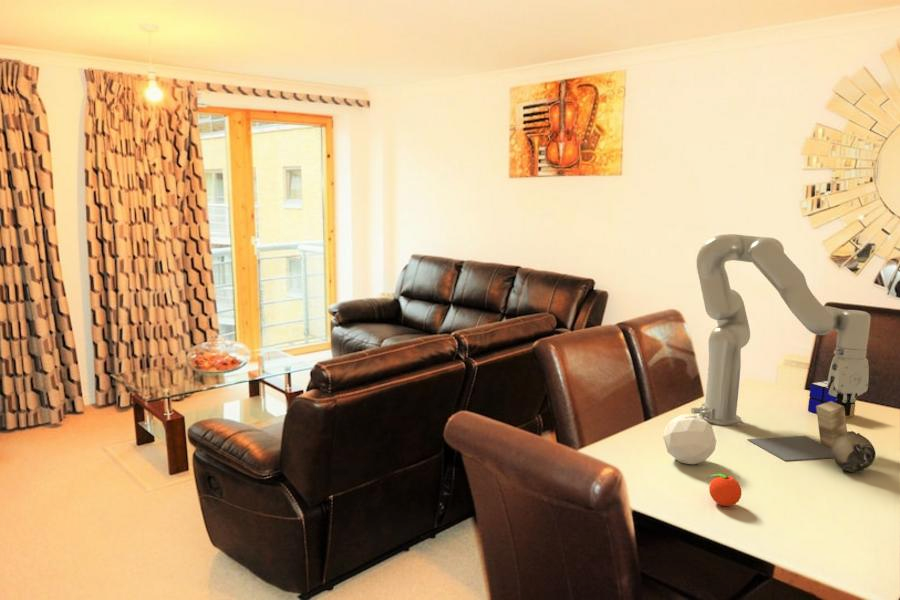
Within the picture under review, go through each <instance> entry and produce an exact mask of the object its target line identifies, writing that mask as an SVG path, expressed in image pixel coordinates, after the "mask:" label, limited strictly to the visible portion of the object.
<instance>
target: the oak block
mask: <svg viewBox="0 0 900 600" xmlns="http://www.w3.org/2000/svg"><path fill="white" fill-rule="evenodd" d="M816 409H817V414H816V415H817V424H818V433H819V440H820V441H819V442H820V443H822V444H824V445H826V446H828V447H830V448H832V444H833V441H834V440H835V439H836V438H839V437H841V436H844V435H847V431H848V427H847V418H846V417H845V408H844V406H842V405H839V404H837V403H834V402H832V401H830V402H827V403H824V404H821V405H818V406H816Z"/></svg>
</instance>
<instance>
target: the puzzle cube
mask: <svg viewBox="0 0 900 600" xmlns="http://www.w3.org/2000/svg"><path fill="white" fill-rule="evenodd" d="M828 392H829V389H828V380H827V381H826V380H824V381H819V382H812V383H810V387H809V398H808V404H807V411H808V413H813V414H815V415H817V409H816V406H818V405H821V404H824V403H827V402H830V401H832V402H834V403H837V404H838V400H836V397H835V396H831V395H829V394H828ZM841 395H842V394H841ZM856 401H857V396H856V397H855V398H854V402H853V403H851V410H850V416H845V417H846V419H848V418H853V417H854V416H855V411H856Z"/></svg>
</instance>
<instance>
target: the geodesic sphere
mask: <svg viewBox="0 0 900 600" xmlns="http://www.w3.org/2000/svg"><path fill="white" fill-rule="evenodd" d="M706 417H707V416H706ZM706 417H703V418H702V417H700V416H699V414H686V413H683V414H680V415H678V416H676V417H675V418H673V419H672V420H670V421H669V422H668V423H667V425H666V427H665V429H664V432H663V437H662V438H663V441H664V445H665V448H666V451H667V453H668V454H669V455H670V456H672V457H673V459H675V460H677V461H678V462H679V463H682V464H687V465H698V464H699V463H702V462H705V461H706V460H707V459H709V457H711V456H712V454H713V453H714V452H715V451H716V445H717V440H716V436H715V432H714V429H713V425H712V424H711V423H710V422H707V420H706V421H705V419H704V418H706Z"/></svg>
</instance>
